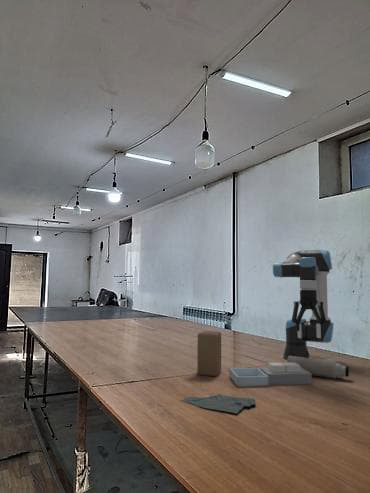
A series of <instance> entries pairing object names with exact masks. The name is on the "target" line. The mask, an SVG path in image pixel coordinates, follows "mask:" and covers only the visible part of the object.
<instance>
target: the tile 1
mask: <svg viewBox="0 0 370 493" xmlns="http://www.w3.org/2000/svg"><path fill="white" fill-rule="evenodd" d="M267 364H268V365H267V366H268V367H267V368H268V369H269V370H270V371H271V372H273V373H275V372H285V365H284V364H283V362H268V363H267Z"/></svg>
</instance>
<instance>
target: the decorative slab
mask: <svg viewBox="0 0 370 493" xmlns="http://www.w3.org/2000/svg"><path fill="white" fill-rule="evenodd" d="M255 401H256V399H255V398H253V397H250V398H249V397H239V396H238V397H237V396H235V397H234V396H231V395H226V394H220V393H218V394H217V395H213V396H212V395H211V396H207V397H197V396H190V397H189V398H188V397H185V398H184V399H181V400H180V402H181V403H186V404H189V405H193V406H195V407H198V408H199V409H200V408H201V409H204V410H207V411H210V412H211V411H212V412H218V413H224V414H228V415H233V416H238V415H240V413H242V411H244V410H251V408H253V409H254V408H256V407H257V406H256V402H255Z"/></svg>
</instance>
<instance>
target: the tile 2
mask: <svg viewBox="0 0 370 493" xmlns="http://www.w3.org/2000/svg"><path fill="white" fill-rule="evenodd" d="M282 364H284V365H285V371H286V372H300V365H299V364H297V363H295V362H292V363H287V362H282Z"/></svg>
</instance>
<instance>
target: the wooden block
mask: <svg viewBox="0 0 370 493" xmlns="http://www.w3.org/2000/svg"><path fill="white" fill-rule="evenodd" d="M196 367H197V369H196V370H197V371H196V372H197V375H199V376H208V377H217V376H218V375H219V374H220V373H221V372H222V333H221V332H220V331H210V330H209V331H208V330H204V331H203V330H202V331H201V332H199V333H198V334H197V366H196Z"/></svg>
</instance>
